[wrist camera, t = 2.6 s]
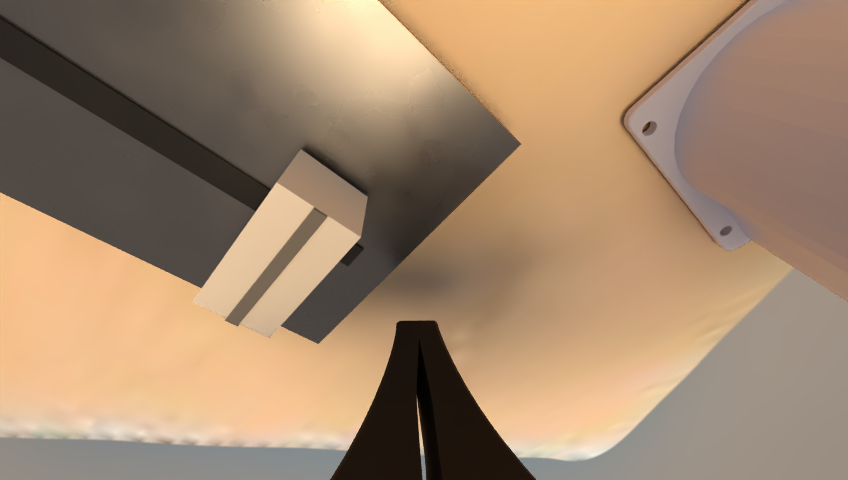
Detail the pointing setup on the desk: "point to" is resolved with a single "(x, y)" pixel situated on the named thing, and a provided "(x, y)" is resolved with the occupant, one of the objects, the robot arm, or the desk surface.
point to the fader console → (234, 127)
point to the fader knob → (286, 247)
